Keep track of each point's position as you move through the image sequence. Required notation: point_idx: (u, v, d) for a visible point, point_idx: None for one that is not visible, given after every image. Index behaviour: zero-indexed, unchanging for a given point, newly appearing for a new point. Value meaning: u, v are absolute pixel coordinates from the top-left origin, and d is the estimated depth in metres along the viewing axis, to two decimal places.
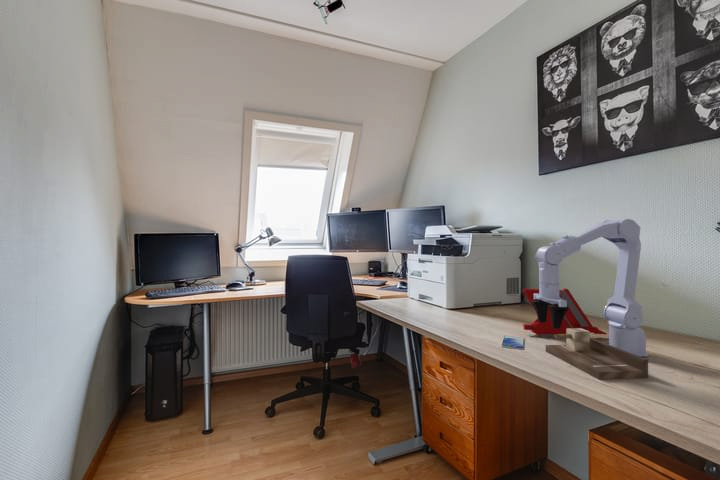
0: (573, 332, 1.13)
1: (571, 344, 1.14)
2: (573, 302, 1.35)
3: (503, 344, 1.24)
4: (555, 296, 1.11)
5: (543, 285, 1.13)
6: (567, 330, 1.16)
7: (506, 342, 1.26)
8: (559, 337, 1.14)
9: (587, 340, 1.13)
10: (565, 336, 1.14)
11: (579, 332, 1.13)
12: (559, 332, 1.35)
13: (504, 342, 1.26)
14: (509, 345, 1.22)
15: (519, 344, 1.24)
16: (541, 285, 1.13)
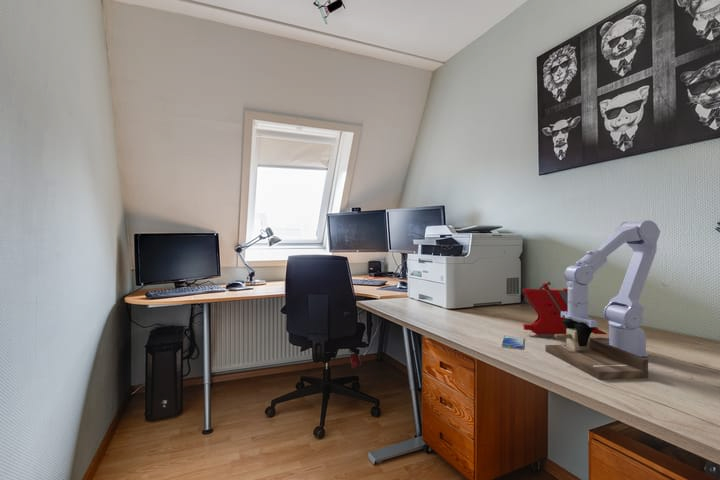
0: (573, 332, 1.13)
1: (571, 344, 1.14)
2: None
3: (503, 344, 1.24)
4: (584, 316, 1.12)
5: (572, 304, 1.13)
6: (567, 330, 1.16)
7: (506, 342, 1.26)
8: (559, 337, 1.14)
9: None
10: (565, 336, 1.14)
11: None
12: (559, 332, 1.35)
13: (504, 342, 1.26)
14: (509, 345, 1.22)
15: (519, 344, 1.24)
16: (570, 304, 1.14)
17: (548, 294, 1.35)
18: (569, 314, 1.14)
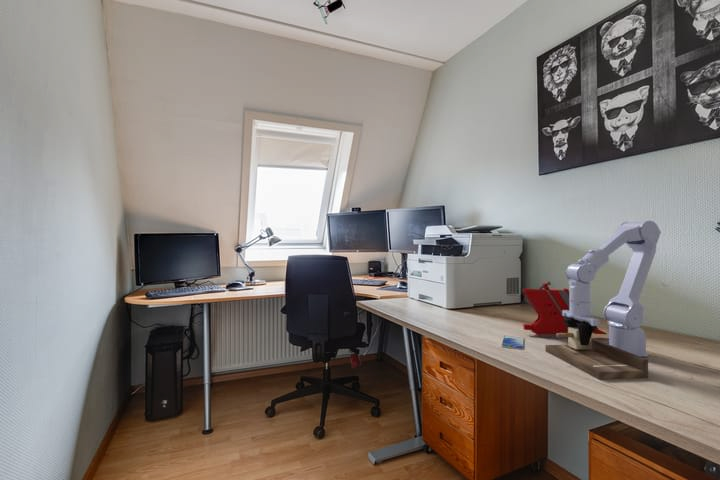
0: (575, 331, 1.12)
1: (573, 343, 1.13)
2: None
3: (503, 344, 1.24)
4: (586, 314, 1.11)
5: (574, 303, 1.12)
6: (569, 329, 1.15)
7: (506, 342, 1.26)
8: (561, 336, 1.13)
9: None
10: (567, 335, 1.13)
11: None
12: (559, 332, 1.35)
13: (504, 342, 1.26)
14: (509, 345, 1.22)
15: (519, 344, 1.24)
16: (572, 303, 1.13)
17: (548, 294, 1.35)
18: (571, 313, 1.14)
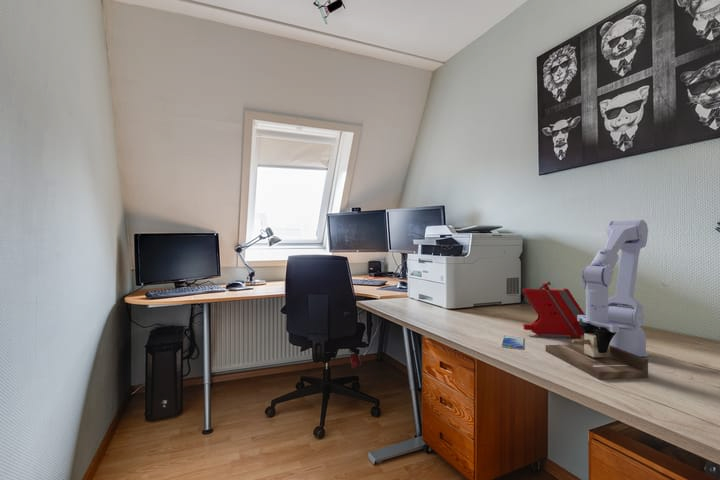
0: (592, 337, 1.05)
1: (589, 350, 1.06)
2: (573, 302, 1.35)
3: (503, 344, 1.24)
4: (604, 320, 1.03)
5: (591, 307, 1.05)
6: (585, 335, 1.08)
7: (506, 342, 1.26)
8: (577, 343, 1.05)
9: None
10: (583, 342, 1.05)
11: None
12: (559, 332, 1.35)
13: (504, 342, 1.26)
14: (509, 345, 1.22)
15: (519, 344, 1.24)
16: (588, 307, 1.06)
17: (548, 294, 1.35)
18: (587, 318, 1.06)
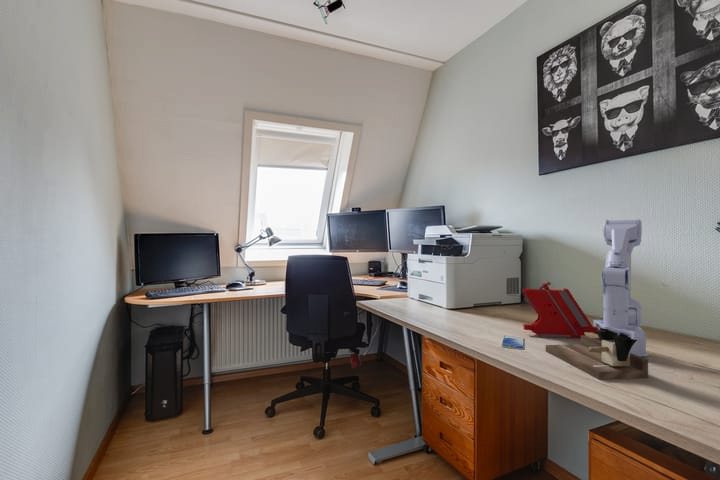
0: (611, 345, 0.98)
1: (608, 358, 0.99)
2: (573, 302, 1.35)
3: (503, 344, 1.24)
4: (624, 326, 0.96)
5: (610, 312, 0.98)
6: (603, 342, 1.00)
7: (506, 342, 1.26)
8: (594, 350, 0.98)
9: None
10: (601, 349, 0.98)
11: None
12: (559, 332, 1.35)
13: (504, 342, 1.26)
14: (509, 345, 1.22)
15: (519, 344, 1.24)
16: (607, 312, 0.99)
17: (548, 294, 1.35)
18: (606, 324, 0.99)
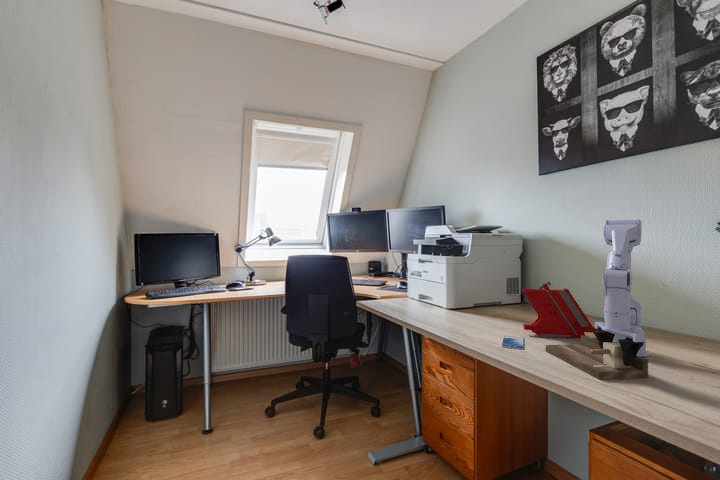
0: (612, 347, 0.97)
1: (609, 361, 0.98)
2: (573, 302, 1.35)
3: (503, 344, 1.24)
4: (626, 328, 0.96)
5: (611, 315, 0.97)
6: (604, 344, 1.00)
7: (506, 342, 1.26)
8: (596, 353, 0.98)
9: None
10: (603, 352, 0.98)
11: (619, 347, 0.97)
12: (559, 332, 1.35)
13: (504, 342, 1.26)
14: (509, 345, 1.22)
15: (519, 344, 1.24)
16: (608, 314, 0.98)
17: (548, 294, 1.35)
18: (607, 326, 0.98)
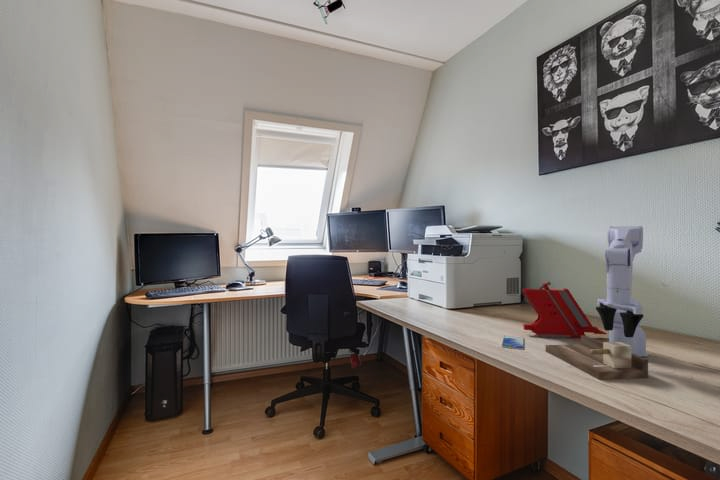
0: (612, 347, 0.97)
1: (609, 361, 0.98)
2: (573, 302, 1.35)
3: (503, 344, 1.24)
4: (627, 302, 1.02)
5: (613, 290, 1.04)
6: (604, 344, 1.00)
7: (506, 342, 1.26)
8: (596, 353, 0.98)
9: (629, 356, 0.97)
10: (603, 352, 0.98)
11: (619, 347, 0.97)
12: (559, 332, 1.35)
13: (504, 342, 1.26)
14: (509, 345, 1.22)
15: (519, 344, 1.24)
16: (610, 290, 1.04)
17: (548, 294, 1.35)
18: (609, 301, 1.05)
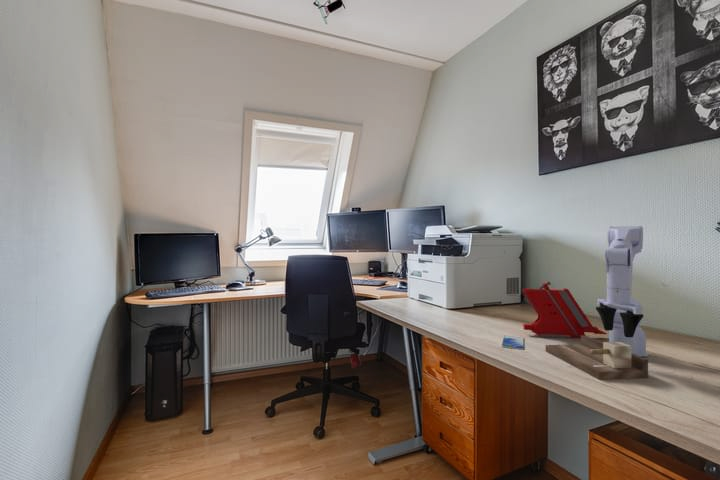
0: (612, 347, 0.97)
1: (609, 361, 0.98)
2: (573, 302, 1.35)
3: (503, 344, 1.24)
4: (627, 302, 1.02)
5: (613, 290, 1.04)
6: (604, 344, 1.00)
7: (506, 342, 1.26)
8: (596, 353, 0.98)
9: (629, 356, 0.97)
10: (603, 352, 0.98)
11: (619, 347, 0.97)
12: (559, 332, 1.35)
13: (504, 342, 1.26)
14: (509, 345, 1.22)
15: (519, 344, 1.24)
16: (610, 290, 1.04)
17: (548, 294, 1.35)
18: (609, 301, 1.05)
